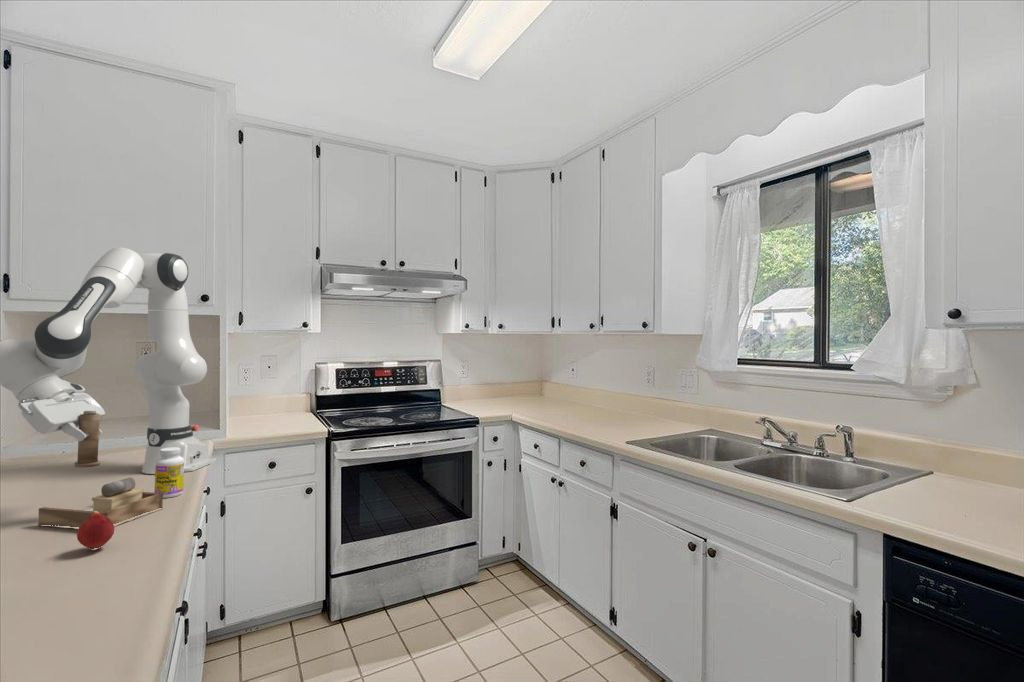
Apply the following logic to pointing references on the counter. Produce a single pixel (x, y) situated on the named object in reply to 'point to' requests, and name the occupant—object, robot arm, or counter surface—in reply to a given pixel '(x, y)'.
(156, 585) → the counter surface
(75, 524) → the bay
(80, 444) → the brown wooden pepper mill
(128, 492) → the block with grey roller
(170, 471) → the supplement bottle
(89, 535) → the onion
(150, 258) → the robot arm
